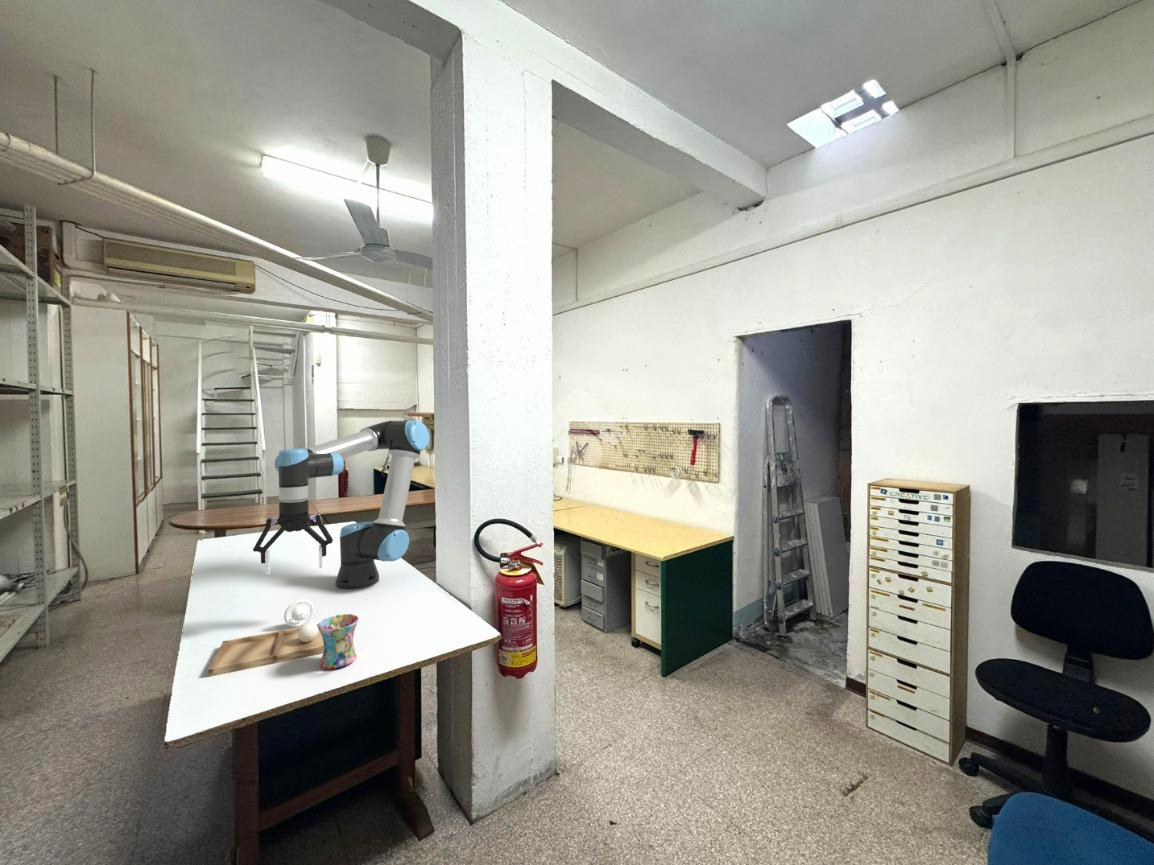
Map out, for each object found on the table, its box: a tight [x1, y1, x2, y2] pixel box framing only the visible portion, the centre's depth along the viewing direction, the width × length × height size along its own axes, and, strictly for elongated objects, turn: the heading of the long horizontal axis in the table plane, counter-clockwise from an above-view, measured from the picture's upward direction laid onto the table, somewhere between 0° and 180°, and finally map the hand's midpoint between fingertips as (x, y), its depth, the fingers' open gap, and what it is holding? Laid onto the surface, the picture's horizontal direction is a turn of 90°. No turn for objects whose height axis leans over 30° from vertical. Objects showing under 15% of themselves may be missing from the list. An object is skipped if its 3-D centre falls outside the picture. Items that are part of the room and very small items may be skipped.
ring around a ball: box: [283, 598, 315, 628], centre depth 136 cm, size 8×6×8 cm
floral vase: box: [317, 613, 359, 670], centre depth 115 cm, size 12×9×11 cm
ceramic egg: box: [298, 622, 319, 642], centre depth 126 cm, size 5×5×5 cm
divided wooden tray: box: [207, 623, 324, 678], centre depth 123 cm, size 27×16×2 cm, turn 118°
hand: (294, 570), depth 136 cm, fingers open, 13 cm apart
